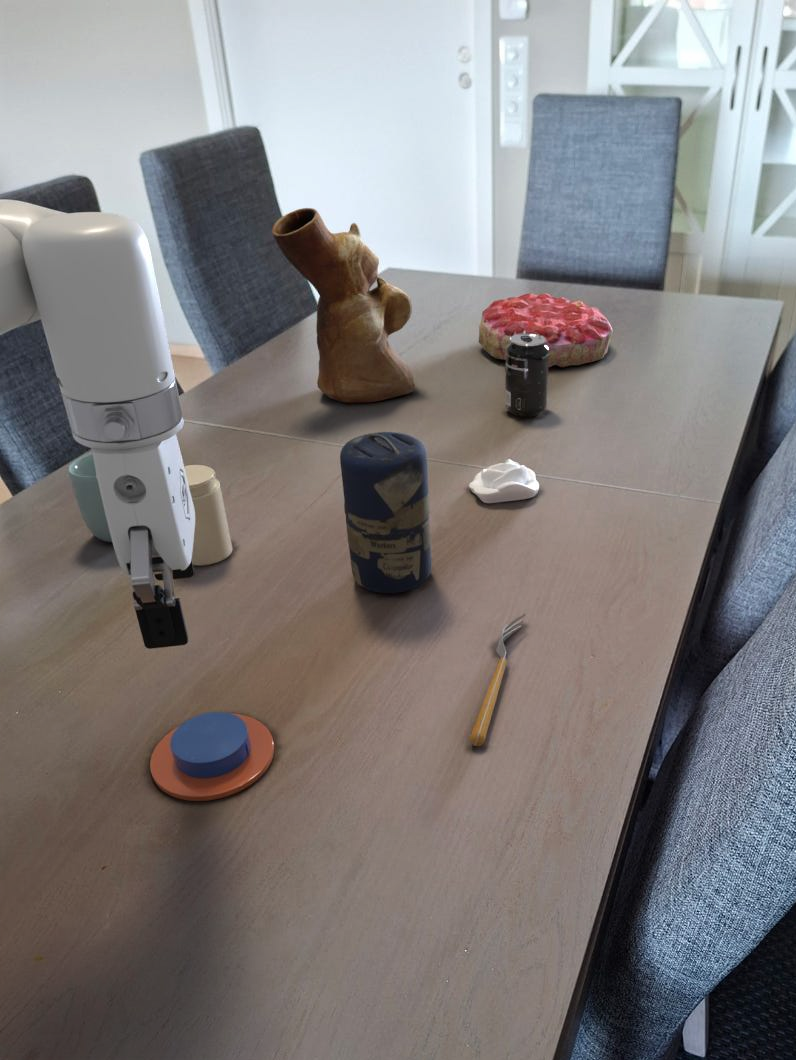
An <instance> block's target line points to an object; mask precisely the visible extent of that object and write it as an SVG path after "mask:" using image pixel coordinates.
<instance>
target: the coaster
mask: <svg viewBox="0 0 796 1060" xmlns="http://www.w3.org/2000/svg"><path fill="white" fill-rule="evenodd" d="M229 713H230V714H233V715H236V716H238V717H239V718H241V719H242V720H243V721H244V722H245V724H246V726H247V729H248V734H249V739H250V744H251V748H250V752H249V755H248V756H247V758H246V760H245V761H244V762H243V763H242V764H241V765H240V766H239V767H237V768H236V769H234V770H232V771H230V772H229V773H226V774H224V775H221V776H217V777H212V778H196V777H191V776H188V775H186V774H184V773H182V772H181V771H180V770H179V769H178V768H177V766H176V764H175V761H174V757H173V754H172V750H171V747H170V742H171V738H172V735H173V734H174V732H175V731H176V729H177V728H178V727H179V726H180V725H178V726H176V727H174V729H172V730H171V731H169V732H168V733H167V734H165V736H164V737H162V739H160V740H159V742H158V743H157V744H156V745H155V748H154V749H153V751H152V754H151V757H150V762H149V764H150V765H149V769H150V773H151V777H152V779H153V782H154V783H155V785H156V786H157V787H158V788H159V789H160V790H161V792H164V793H165V794H167V795H168V796H171V797H173V798H176V799H179V800H182V801H183V800H184V801H190V802H191V801H192V802H205V801H213V800H219V799H223V798H225V797H229V796H232V795H234V794H237V793H239V792H241V791H243V790H245V789H246V788H248V787H250V786H251V785H253V784H254V783H255V782H257V781H258V780H259V779H260V778H261V777H262V776H263V775H264V774H265V772H266V771H267V770H268V768H269V767H270V765H271V763H272V761H273V758H274V754H275V744H274V738H273V735H272V734H271V732H270V730H269V728H268V727H267V726H266V725H264V724H263V723H262V722H261V721H259V720H258V719H256V718H253V717H251V716H249V715H245V714H240V713H231V712H229Z"/></svg>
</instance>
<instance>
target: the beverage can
mask: <svg viewBox="0 0 796 1060" xmlns="http://www.w3.org/2000/svg"><path fill="white" fill-rule="evenodd" d="M510 341H511V342H510V344H509V345H508V346H507V347H506V360H505V384H504V385H505V391H504V393H505V395H504V396H505V397H504V398H505V402H504V403H505V404H504V405H505V409H506V410H507V411H508V412H509V413H511V414H512V415H514V416H516V417H519V418H532V417H533V418H534V417H536V416H539V415H540V414H541V413H544V411H545V410H546V409H547V407H548V390H549V389H548V387H549V386H548V385H549V367H548V364H549V348H548V346H547V345H546V344H545V337H544V336H542V335H539V334H533V333H522V334H516V335H513V336H512V337H511V338H510Z"/></svg>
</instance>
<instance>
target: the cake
mask: <svg viewBox="0 0 796 1060" xmlns="http://www.w3.org/2000/svg"><path fill="white" fill-rule="evenodd" d="M613 332H614V331H613V328H612V325H611V323H610V321H609V320H608V319H607V317H606V316H605V315H603V312H602V311H601V310H600V309H599V308H597V307H595V306H589V305H587V304H585V303H584V302H583V301H580V300H569V299H567V298H565V297H555V296H552V295H550V294H549V293H546V292H545V293H540V294H535V293H531V292H529V293H525V294H523V295H520V296H512V297H508V298H506V299H497V300H494V301H493V302H492V303H491V304H490V305H489V306H488V307H486V308H485V309H484V310H483V311H482V312H481V319H480V323H479V326H478V344H480V345H481V346H482V349H483V350H484V351H485V352H486V353H488V354H489V355H490V356H491V357H493V358H495V359H496V360H505V361H506V347H507V346H508V345H509V344H510V342H511V341H510V338H511V337H512V336H513V335H516V334H522V333H533V334H539V335H542V336H544V337H545V344H546V345H547V346H548V348H549V364H548V368H551V367H553V366H555V365H556V366H558V367H560V368H566V367H568V366H580V365H583V364H586V363H593V362H595V361H596V362H597V361H600V360H603V358H604V357H605V355H606V354H607V353H608V351H609V346H610V343H611V342H610V341H611V338H612V335H613Z"/></svg>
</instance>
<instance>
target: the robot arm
mask: <svg viewBox="0 0 796 1060" xmlns="http://www.w3.org/2000/svg"><path fill="white" fill-rule="evenodd" d="M37 321H40V322H41V325H42V329H43V331H44V336H45V340H46V342H47V347H48V350H49V352H50V357H51V361H52V365H53V368H54V371H55V375H56V379H57V382H58V386H59V389H60V394H61V398H62V401H63V405H64V408H65V412H66V416H67V419H68V424H69V427H70V429H71V430H70V431H71V434H72V438H73V440H75V442H76V443H77V444H79V445H82V446H84V447H86V448H89V449H91V453H92V455H93V460H94V465H95V469H96V478H97V480H98V484H99V488H100V493H101V497H102V502H103V506H104V510H105V514H106V518H107V523H108V527H109V531H110V535H111V539H112V542H111V543H112V546H113V549H114V553H115V555H116V559H117V562H118V565H119V568H120V569H121V571H122V572H123V573H125V574H126V575H128V576H130V583H131V590H132V599H133V606H134V611H135V614H136V619H137V623H138V627H139V630H140V633H141V638H142V642H143V645H144V647H145V648H146V649H148V650H152V649H162V648H170V647H171V648H172V647H180V646H186V645H187V644H188V643H189V634H188V630H187V629H188V628H187V625H186V621H185V616H184V612H183V608H182V607H183V606H182V604H181V598H180V597H176V594H175V586H174V585H175V584H174V580H180V579H181V580H182V579H190V578H193V577H194V575H195V568H194V567H195V566H194V565H193V562H192V551H193V542H194V530H195V510H194V505H193V501H192V497H191V493H190V489H189V485H188V481H187V477H186V473H185V468H184V466H185V464H184V460H183V456H182V452H181V449H180V443H179V440H178V437H177V436H178V435H177V434H178V433H179V432H180V431H181V430H182V429H183V427H184V423H185V421H184V416H183V410H182V405H181V399H180V395H179V390H178V385H177V380H176V375H175V371H174V365H173V359H172V354H171V350H170V349H171V348H170V344H169V339H168V334H167V328H166V323H165V318H164V312H163V308H162V303H161V297H160V292H159V287H158V282H157V277H156V272H155V266H154V262H153V256H152V252H151V248H150V244H149V240H148V238H147V235H146V233H145V231H144V230H143V228H142V227H141V225H140V224H138V223H137V222H136V220H134V219H132V218H131V217H128V216H125V215H121V214H118V213H113V212H104V211H83V212H82V211H81V212H69V213H67V212H63V211H59V210H55V209H52V208H48V207H46V206H45V207H44V206H41V205H38V204H34V203H30V202H26V201H22V200H16V199H3V198H2V199H1V198H0V336H2V335H4V334H6V333H8V332H11V331H12V330H14V329H18V328H21V327H23V326H27V325H28V324H32V323H34V322H37ZM156 580H157V581H163V587H162V586H161V585H160V584H156Z"/></svg>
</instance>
